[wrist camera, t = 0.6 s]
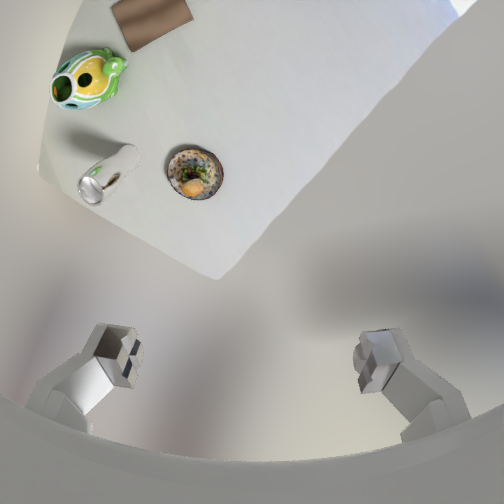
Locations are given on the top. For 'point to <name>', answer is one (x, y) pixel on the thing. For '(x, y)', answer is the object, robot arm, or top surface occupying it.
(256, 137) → the top surface
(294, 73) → the top surface
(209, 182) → the burger
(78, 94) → the turtle holder
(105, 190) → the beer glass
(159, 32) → the walnut board
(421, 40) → the top surface
